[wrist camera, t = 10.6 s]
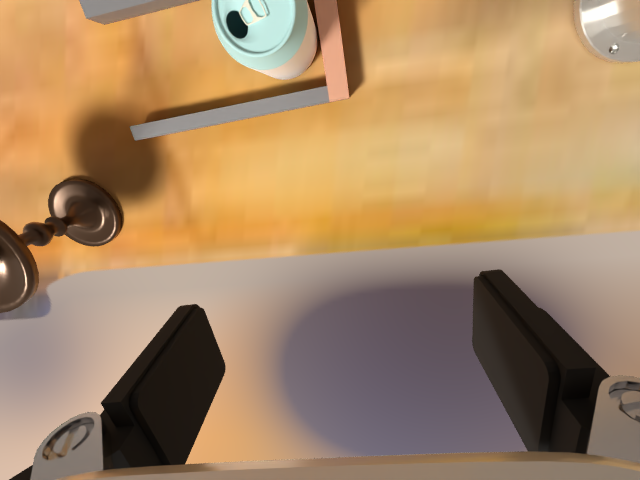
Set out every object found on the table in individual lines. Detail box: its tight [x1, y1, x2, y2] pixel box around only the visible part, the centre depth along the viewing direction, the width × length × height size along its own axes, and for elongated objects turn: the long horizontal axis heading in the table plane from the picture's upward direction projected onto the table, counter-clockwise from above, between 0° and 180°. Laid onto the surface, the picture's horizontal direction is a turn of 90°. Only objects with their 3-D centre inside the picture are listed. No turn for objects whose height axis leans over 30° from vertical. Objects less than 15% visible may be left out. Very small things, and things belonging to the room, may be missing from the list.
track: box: [79, 0, 349, 141], centre depth 31 cm, size 24×13×3 cm, turn 100°
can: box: [212, 0, 318, 80], centre depth 26 cm, size 7×7×12 cm
